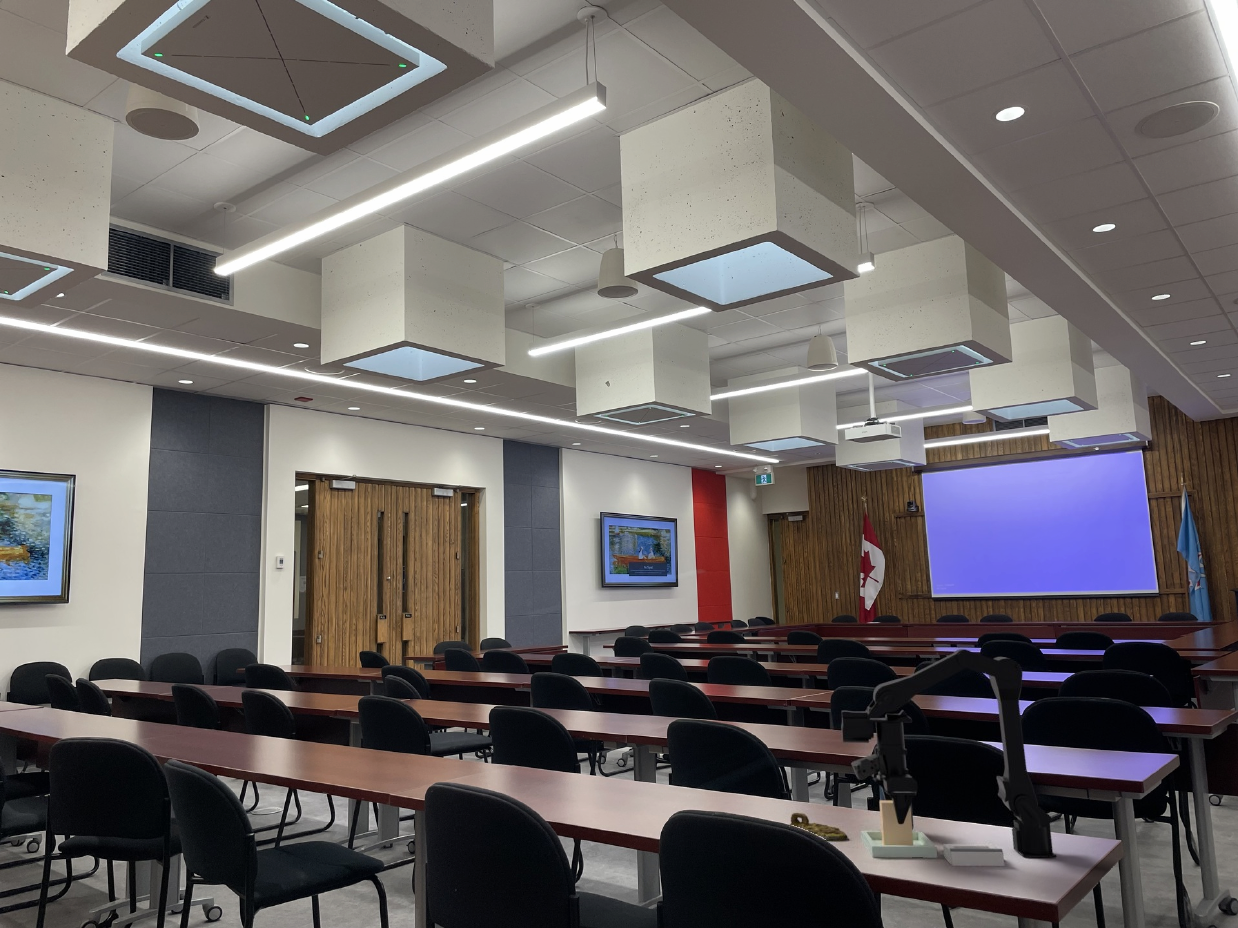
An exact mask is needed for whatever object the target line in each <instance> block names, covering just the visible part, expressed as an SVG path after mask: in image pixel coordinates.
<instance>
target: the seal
mask: <svg viewBox="0 0 1238 928" xmlns="http://www.w3.org/2000/svg"><path fill="white" fill-rule="evenodd" d="M799 819H801V820H799ZM790 825H794V826H797V827H800V828H803V829H805V830H808V831H809V832H812V833H814V834H817V835H818V836H821V837H823V838H824V839H826V840H827V841H826V842H840V841H841V842H842V841H846V840H847V839H848V834H846V832H844V831H842V830H841V829H840V828H839V827H835V826H829V825H828V824H820V823H817V822H813V823H810V819H809V818H808V816H807V814H805V813H804V812H803V813H802V812H800V813H799V812H792V813H791V816H790V824H789V826H790Z"/></svg>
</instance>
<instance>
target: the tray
mask: <svg viewBox="0 0 1238 928" xmlns="http://www.w3.org/2000/svg"><path fill="white" fill-rule="evenodd" d="M912 833H913V845H882V832H881V830H860V837H861V842H862V844H863V843H864V844H863V845H864V847H865V848H866V849H867V851H868V852H869V854H870V856H871V857H872V858H912V857H923V858H922V859H924V858H926V859H927V858H930V859H931V858H932V859H933V858H934V859H935V858H936V859H937V858H938V849H937V846H936V845H935V844H934V843H933V841H932V840H930V839H929V837H928V836H927V835H926V834H924V832H922V830H912Z"/></svg>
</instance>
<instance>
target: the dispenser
mask: <svg viewBox="0 0 1238 928" xmlns="http://www.w3.org/2000/svg"><path fill="white" fill-rule="evenodd" d="M942 846H943V847H942V849H943V858H945V860H946V861H947V862H948V863H949V864H950V865H951V866H954V867H955V866H957V867H958V866H960V867H1005V857H1004V855H1005V854H1004V852H1003V849H1002V848H998V847H997V846H996V845H995V844H990V843H988V844H986V843H983V844H981V843H979V844H977V843H976V844H975V843H973V844H972V843H971V844H970V843H969V844H967V843H943V844H942Z"/></svg>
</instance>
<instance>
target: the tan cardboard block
mask: <svg viewBox="0 0 1238 928" xmlns="http://www.w3.org/2000/svg"><path fill="white" fill-rule="evenodd" d="M878 801H879V812H880V813H879V815H880V829H881V830H880V831H881V832H882V845H913V833H912V831H913V830H912V819H911V806H910V808H909V811H908V813H907V816H906V819H905V821H904V824H898V822H897V818H896V813H895V809H894V805H893V801H882V800H880V799H879V800H878Z"/></svg>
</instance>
